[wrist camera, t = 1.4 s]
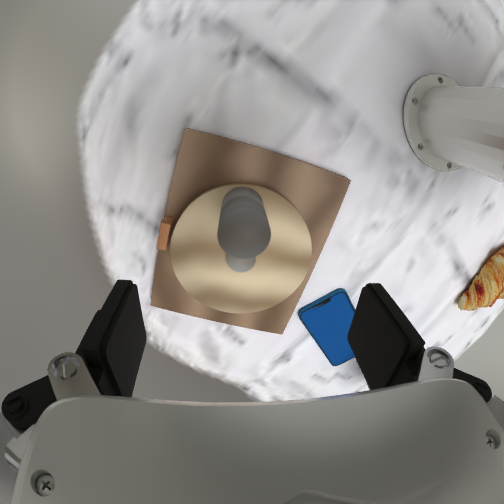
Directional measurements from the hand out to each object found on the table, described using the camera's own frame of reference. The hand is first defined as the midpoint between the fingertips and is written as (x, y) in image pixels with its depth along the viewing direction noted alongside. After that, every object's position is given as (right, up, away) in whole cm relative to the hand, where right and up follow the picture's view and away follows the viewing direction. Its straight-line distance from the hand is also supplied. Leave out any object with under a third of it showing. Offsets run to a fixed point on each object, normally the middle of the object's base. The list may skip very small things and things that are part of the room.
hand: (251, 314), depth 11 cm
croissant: (+44, 0, +27) cm, 52 cm away
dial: (-1, +3, +20) cm, 21 cm away
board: (-1, +4, +22) cm, 22 cm away
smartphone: (+13, -9, +30) cm, 34 cm away
